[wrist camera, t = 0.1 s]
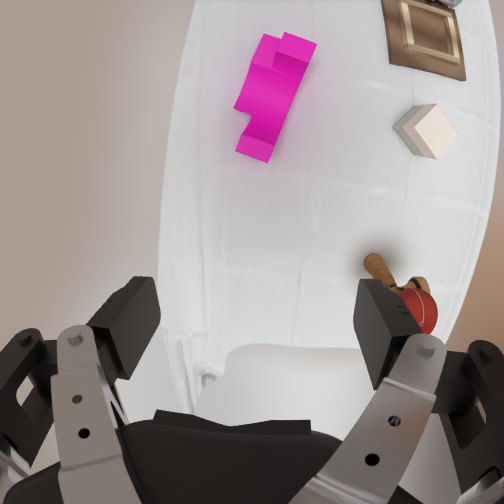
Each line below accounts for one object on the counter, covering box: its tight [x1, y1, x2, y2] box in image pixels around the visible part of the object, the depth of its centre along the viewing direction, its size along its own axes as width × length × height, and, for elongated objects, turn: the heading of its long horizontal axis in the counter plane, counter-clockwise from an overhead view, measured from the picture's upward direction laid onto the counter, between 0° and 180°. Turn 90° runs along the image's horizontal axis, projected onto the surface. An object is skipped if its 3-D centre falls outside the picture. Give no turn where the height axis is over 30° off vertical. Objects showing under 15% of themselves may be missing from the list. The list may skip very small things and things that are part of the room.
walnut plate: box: [381, 0, 466, 81], centre depth 26 cm, size 13×13×3 cm
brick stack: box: [392, 104, 460, 159], centre depth 31 cm, size 5×5×7 cm
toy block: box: [234, 32, 317, 163], centre depth 31 cm, size 15×6×8 cm, turn 159°
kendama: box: [364, 254, 438, 334], centre depth 33 cm, size 8×6×18 cm
